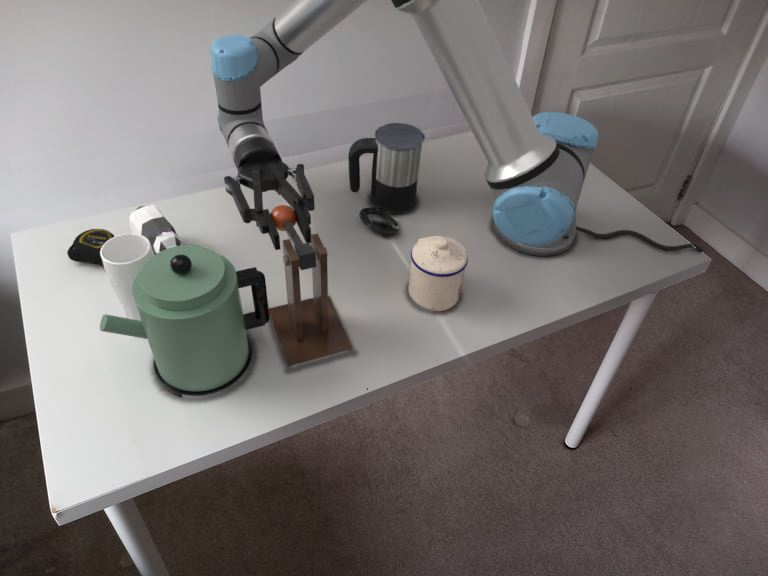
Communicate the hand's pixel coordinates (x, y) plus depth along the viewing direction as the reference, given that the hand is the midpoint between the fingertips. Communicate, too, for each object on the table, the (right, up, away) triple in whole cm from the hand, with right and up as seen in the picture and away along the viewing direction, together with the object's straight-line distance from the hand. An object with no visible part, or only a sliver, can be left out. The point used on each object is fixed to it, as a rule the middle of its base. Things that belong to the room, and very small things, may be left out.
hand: (293, 239), depth 87 cm
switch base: (+2, -14, +6) cm, 15 cm away
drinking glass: (-23, -12, +6) cm, 27 cm away
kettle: (-13, -18, +1) cm, 22 cm away
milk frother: (+14, +7, +29) cm, 33 cm away
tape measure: (-36, -2, +15) cm, 39 cm away
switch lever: (0, -1, 0) cm, 1 cm away
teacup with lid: (+21, -7, +14) cm, 27 cm away
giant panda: (-25, -2, +16) cm, 29 cm away
